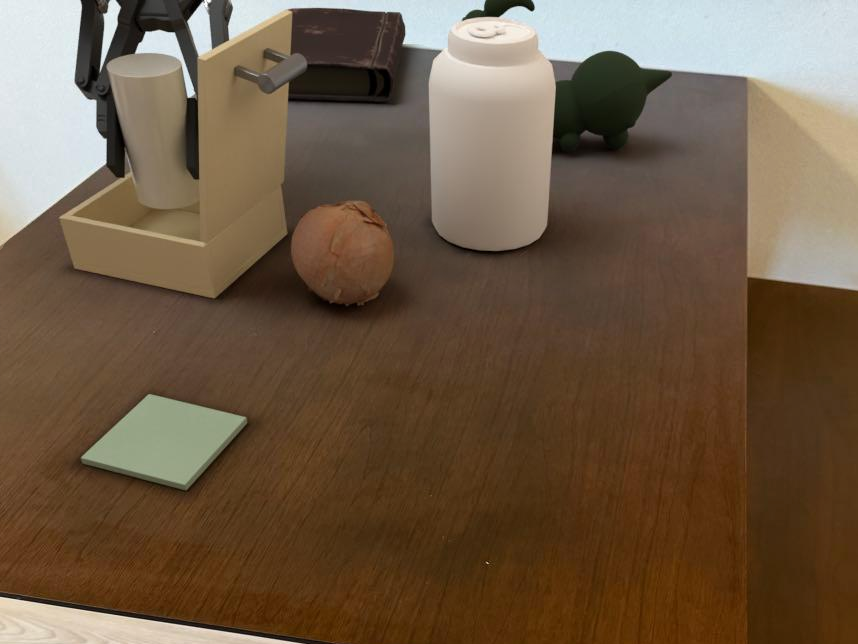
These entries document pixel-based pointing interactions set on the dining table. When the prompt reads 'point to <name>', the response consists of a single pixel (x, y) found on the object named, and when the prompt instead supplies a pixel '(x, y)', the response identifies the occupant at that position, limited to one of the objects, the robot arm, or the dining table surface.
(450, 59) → the can
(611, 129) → the toy figurine
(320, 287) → the onion
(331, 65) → the diary
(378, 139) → the dining table surface
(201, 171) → the lid
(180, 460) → the mat
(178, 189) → the canister
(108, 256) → the beige shallow open box
